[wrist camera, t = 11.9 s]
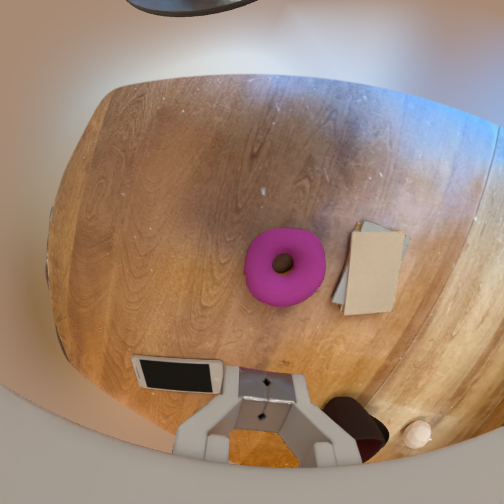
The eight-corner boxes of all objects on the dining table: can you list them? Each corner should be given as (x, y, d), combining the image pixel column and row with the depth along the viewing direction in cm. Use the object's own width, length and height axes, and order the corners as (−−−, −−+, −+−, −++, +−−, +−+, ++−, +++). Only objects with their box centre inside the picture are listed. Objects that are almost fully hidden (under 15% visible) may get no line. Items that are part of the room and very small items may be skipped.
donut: (323, 225, 37) (333, 234, 32) (317, 296, 40) (324, 312, 35) (244, 223, 37) (243, 232, 32) (243, 296, 40) (243, 312, 35)
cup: (328, 385, 45) (343, 437, 33) (387, 392, 46) (409, 436, 35) (304, 419, 48) (313, 468, 36) (362, 424, 49) (377, 466, 38)
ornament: (408, 416, 49) (437, 426, 43) (414, 417, 53) (439, 426, 47) (394, 442, 47) (422, 454, 41) (400, 441, 51) (426, 451, 45)
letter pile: (350, 215, 36) (355, 218, 34) (411, 231, 37) (418, 235, 35) (324, 306, 40) (327, 313, 38) (383, 314, 41) (388, 320, 39)
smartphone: (225, 390, 45) (224, 394, 44) (141, 384, 45) (139, 387, 44) (222, 359, 43) (221, 363, 42) (132, 354, 43) (130, 357, 42)
